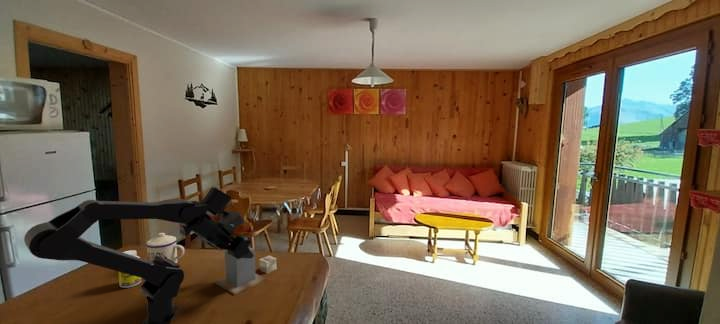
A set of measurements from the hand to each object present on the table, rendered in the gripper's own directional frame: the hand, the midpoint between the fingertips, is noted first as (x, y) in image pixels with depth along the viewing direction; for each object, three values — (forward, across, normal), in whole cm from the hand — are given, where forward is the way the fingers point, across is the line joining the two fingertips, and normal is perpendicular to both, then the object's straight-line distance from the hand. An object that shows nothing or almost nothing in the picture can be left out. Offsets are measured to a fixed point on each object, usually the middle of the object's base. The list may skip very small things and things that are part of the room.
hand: (243, 252), depth 97 cm
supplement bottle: (-10, +26, +23) cm, 36 cm away
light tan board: (+6, 0, +8) cm, 9 cm away
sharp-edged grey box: (+5, 0, +7) cm, 9 cm away
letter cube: (+13, 0, 0) cm, 13 cm away
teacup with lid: (-1, +31, +14) cm, 34 cm away
